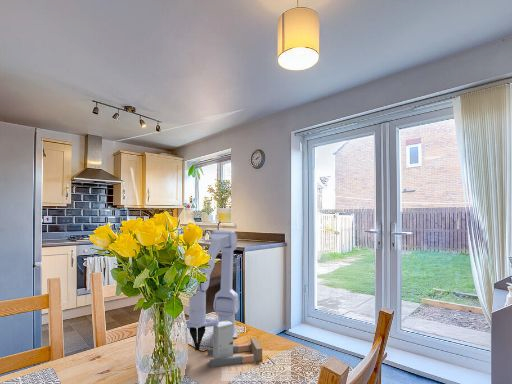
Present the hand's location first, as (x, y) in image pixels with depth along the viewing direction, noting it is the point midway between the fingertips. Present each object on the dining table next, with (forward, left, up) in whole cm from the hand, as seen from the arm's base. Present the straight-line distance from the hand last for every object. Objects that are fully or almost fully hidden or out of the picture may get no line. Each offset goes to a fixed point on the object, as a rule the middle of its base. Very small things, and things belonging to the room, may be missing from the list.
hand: (197, 349), depth 104 cm
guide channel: (0, +13, -4) cm, 14 cm away
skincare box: (0, +9, -4) cm, 10 cm away
